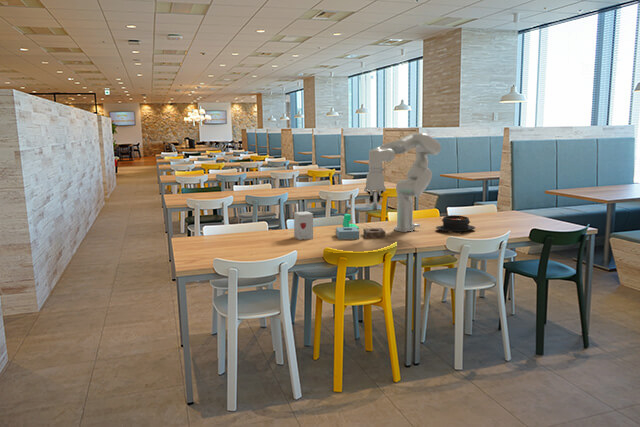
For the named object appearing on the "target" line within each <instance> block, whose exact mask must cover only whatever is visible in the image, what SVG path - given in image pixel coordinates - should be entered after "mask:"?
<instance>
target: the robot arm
mask: <svg viewBox="0 0 640 427" xmlns="http://www.w3.org/2000/svg"><path fill="white" fill-rule="evenodd" d="M412 149H415V154H416V157H415V161H414V162H413V164H411V167H410V168H409V169H408V171H407V174H406V178H407V179H400V180H398V181H397V183H396V185H395V186H396V187H395V189H396V190H395V191H396V196H397V205H396V206H397V208H396V213H397V214H396V226H395V227H394V231H395V232H401V233H402V232H403V233H408V232H407V231H411V232H414V231H415V228H420V227H421V224H420V223H414V222H413V221H414V220H413V218H414V217H413V215H414V212H413V211H414V200H413V197H416V198H417V197H421V195H422V194H423V193H424V192H425V190H426V188H427V187H428V186H429V184H430V182H431V180H432V179H433V178H432V177H433V172H432V170H431V169H430V168H429V159H428V156H429V155H431V156H436V155H438V154H439V153H441V150H442V148H441V143H440V142H439V141H438V140H436V139H435V138H433V137H432V136H430V135H429V134H427V133H422V132H412V133H411V134H408V135H406V136H404V137H402V138H399V139H397V140H394V141H390V142H386V143H384V144H381V145H380V146H379V145H378V146H377V147H375V148H374V149H370V150H369V151H368V172H367V173H366V180H365V187H364V189H363V191H364V192H366V193H367V194H368V195H369V201H370V203H372V202H373V196H372V192H373V191H378V203H380V201H381V195H382V194H383V193H385V192H386V191H387V188H386V186H385V179H384V173H383V172H385V168H383V162H387V163H388V162H392V161H393V160H394V159H395V157H396V155H401V154H405V153H407V152H409V151H410V150H412ZM413 230H414V231H413Z"/></svg>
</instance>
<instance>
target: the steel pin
mask: <svg viewBox="0 0 640 427" xmlns="http://www.w3.org/2000/svg"><path fill="white" fill-rule="evenodd" d="M372 196H373V202H371V204H372V208H371V210H372V211H378V210H379V209H378V208H379V206H378V203H379V202H378V190H373V192H372Z"/></svg>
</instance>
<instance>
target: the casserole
mask: <svg viewBox="0 0 640 427" xmlns="http://www.w3.org/2000/svg"><path fill="white" fill-rule="evenodd" d="M441 222H442V225H437V226H436V227H435V228H436V230H439V231H442V232H443V231H445V232H449V231H452V232H451V233H464V232H463V231H465V232H468V231H471V230H475V229H476V227H475V226H474V225H470V222H471V220H470V219H469V217H467V216H465V215H457V214H456V215H453V214H451V215H450V214H449V215H445V216H443V218H442V219H441Z"/></svg>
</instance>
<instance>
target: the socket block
mask: <svg viewBox="0 0 640 427" xmlns="http://www.w3.org/2000/svg"><path fill="white" fill-rule="evenodd" d="M335 230H336V232H335V233H336V237H337V238H338V240H360V230H358V229H357V227H343V226H339V227H338V226H336V228H335Z"/></svg>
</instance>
